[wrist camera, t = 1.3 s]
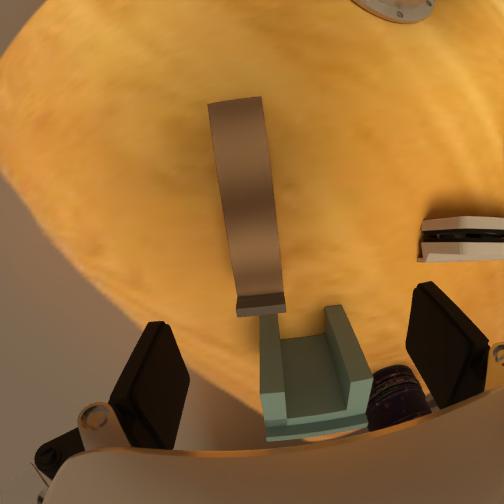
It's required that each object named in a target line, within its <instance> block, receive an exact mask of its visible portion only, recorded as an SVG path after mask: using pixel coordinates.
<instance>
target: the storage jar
mask: <svg viewBox="0 0 504 504" xmlns="http://www.w3.org/2000/svg"><path fill="white" fill-rule="evenodd" d="M372 376H373V382H372V387H371V392H370V396H369V400H368V404H367V409H366V413H365V414H366V417H367V420H368V425H367V428H368V429H369V432H372V431H376V430H380V429H384V428H387V427H391V426H394V425H398V424H401V423H404V422H407V421H410V420H413V419H416V418H419V417H422V416H425V415H428V414H431V413H432V412H431V410H430V408H429V406H428V404H427V402H426V400H425V394H424V392H423V390H422V387H421V385H420V383H419V381H418V380H417V379H416V377H415V376H414V374H413V372H412V370H411V369H410V368H409V367H407V366H404V365H394V366H389V367H386V368H384V369H381V370H379V371H377V372H376V373H374V374H372Z"/></svg>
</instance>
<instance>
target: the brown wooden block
mask: <svg viewBox="0 0 504 504" xmlns="http://www.w3.org/2000/svg"><path fill="white" fill-rule="evenodd" d="M208 112H209V119H210V126H211V133H212V140H213V147H214V154H215V161H216V168H217V174H218V181H219V187H220V194H221V200H222V207H223V213H224V219H225V226H226V232H227V238H228V244H229V250H230V256H231V262H232V268H233V274H234V280H235V286H236V291H237V304H236V313H237V317H246V316H257V315H267V314H277V313H286V304H285V297H284V290H283V279H282V269H281V258H280V248H279V238H278V229H277V220H276V210H275V201H274V193H273V184H272V176H271V167H270V159H269V151H268V143H267V135H266V128H265V120H264V113H263V105H262V98H261V96H260V97H251V98H243V99H236V100H229V101H223V102H217V103H211V104H208Z"/></svg>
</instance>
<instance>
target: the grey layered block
mask: <svg viewBox="0 0 504 504" xmlns="http://www.w3.org/2000/svg"><path fill="white" fill-rule="evenodd" d="M421 231H424V235H437V237H438V238H431V239H424V242H421V246H422V253H423V258H417V262H423V263H431V262H463V261H491V260H504V239H503V238H500V235H501V237H504V218H498V217H480V216H458V217H449V218H440V219H431V220H423V222H422V226H421ZM467 233H480V234H481V238H465V234H467Z"/></svg>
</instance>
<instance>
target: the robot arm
mask: <svg viewBox="0 0 504 504" xmlns="http://www.w3.org/2000/svg"><path fill="white" fill-rule="evenodd" d="M353 1H354V2H355V3H357V4H358V5H359V6H360V7H362V8H364V9H365V10H367V11H369V12H370V13H372V14H374V15H376V16H378V17H380V18H383V19H386V20H389V21H392V22H397V23H404V24H411V23H417V22H419V21H422V20H424V19H425V18H427V17H428V16H429V15H430V14H431V13H432V11H433V9H434V2H435V0H353ZM488 342H489V340H488V339H487V337H486V336H485V335H484V334H483V333H482V332H481V331H480V330H479V329H478V328H477V326H476V325H475V324H474V323H473V322H472V321H471V320H470V319H469V318H468V317H467V316H466V315H465V314H464V313H463V312H462V311H461V310H460V308H459V307H458V306H457V305H456V304H455V303H454V302H453V301H452V300H451V299H450V298H449V297H448V296H447V295H446V294H445V293H444V292H443V291H442V290H441V289H439V288H438V287H437V286H436V285H435V284H434V283H433V282H432V281H429V282H424V283H420V284H418V285H417V287H416V288H415V289H414V290H413V297H412V305H411V312H410V319H409V326H408V332H407V337H406V350H407V352H408V354H409V355H410V357H411V359H412V361H413V362H414V364H415V366H416V367H417V369H418V371H419V373H420V374H421V376H422V378H423V380H424V382H425V383H426V385H427V387H428V389H429V391H430V392H431V394H432V396H433V398H434V400H435V402H436V404H437V405H438V407H439V409H440V410H438V411H436V412H433V413H431V414H428V415H425V416H422V417H419V418H416V419H413V420H410V421H407V422H404V423H401V424H398V425H394V426H391V427H387V428H384V429H380V430H376V431H372V432H369V433H364V434H360V435H356V436H351V437H347V438H343V439H338V440H332V441H326V442H320V443H315V444H307V445H300V446H292V447H284V448H273V449H262V450H245V451H182V450H173V448H174V444H175V440H176V436H177V432H178V428H179V423H180V419H181V415H182V411H183V407H184V403H185V399H186V395H187V391H188V387H189V383H190V377H189V373H188V371H187V368H186V366H185V363H184V361H183V358H182V356H181V353H180V351H179V348H178V346H177V343H176V341H175V338H174V335H173V333H172V330H171V327H170V326H169V325H168V324H165V322H164V321H155V322H149V323H148V324H147V326H146V328H145V330H144V331H143V333H142V336H141V337H140V339H139V341H138V343H137V345H136V347H135V348H134V350H133V352H132V354H131V356H130V358H129V360H128V362H127V364H126V366H125V368H124V369H123V371H122V373H121V376H120V377H119V379H118V381H117V383H116V385H115V387H114V389H113V392H112V394H111V396H110V400H109V402H108V404H107V403H104V402H95V403H92V404H90V405H88V406H86V407H85V408H84V409H83V410H82V411H81V412H80V414H79V416H78V419H77V424H78V427H77V428H75V429H73V430H71V431H69V432H67V433H65V434H63V435H61V436H60V437H57V438H55V439H53V440H51V441H49V442H47V443H45V444H43V445H42V446H41V447H40V448H39V449H38V450H37V452H36V454H35V458H34V459H35V464H32V463H31V462H30V463H29V464H28V465H27V466H25V467H24V468H23V469H22V470H21V471H19V472H18V473H17V474H16V475H15V476H13V477H12V478H11V479H10V480H8V481H7V482H6V483H5V484H4V485H3V486H2V487H1V490H0V499H1V502H2V504H504V342H498V343H495V344H494V345H492V347H490V346H489V345H488Z"/></svg>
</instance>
